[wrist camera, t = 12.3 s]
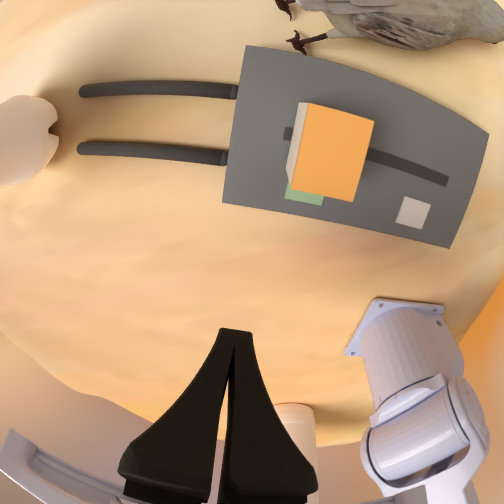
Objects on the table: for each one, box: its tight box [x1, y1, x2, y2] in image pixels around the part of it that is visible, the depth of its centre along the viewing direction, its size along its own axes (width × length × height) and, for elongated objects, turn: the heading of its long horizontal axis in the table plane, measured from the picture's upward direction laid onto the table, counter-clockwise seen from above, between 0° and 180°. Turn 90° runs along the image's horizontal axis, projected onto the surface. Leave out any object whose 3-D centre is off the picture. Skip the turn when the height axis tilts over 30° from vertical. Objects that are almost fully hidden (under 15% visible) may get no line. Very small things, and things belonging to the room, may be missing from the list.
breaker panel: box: [222, 45, 489, 249], centre depth 16 cm, size 18×10×2 cm, turn 81°
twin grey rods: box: [77, 80, 239, 166], centre depth 16 cm, size 12×6×1 cm, turn 81°
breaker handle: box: [286, 102, 374, 202], centre depth 13 cm, size 3×4×4 cm
